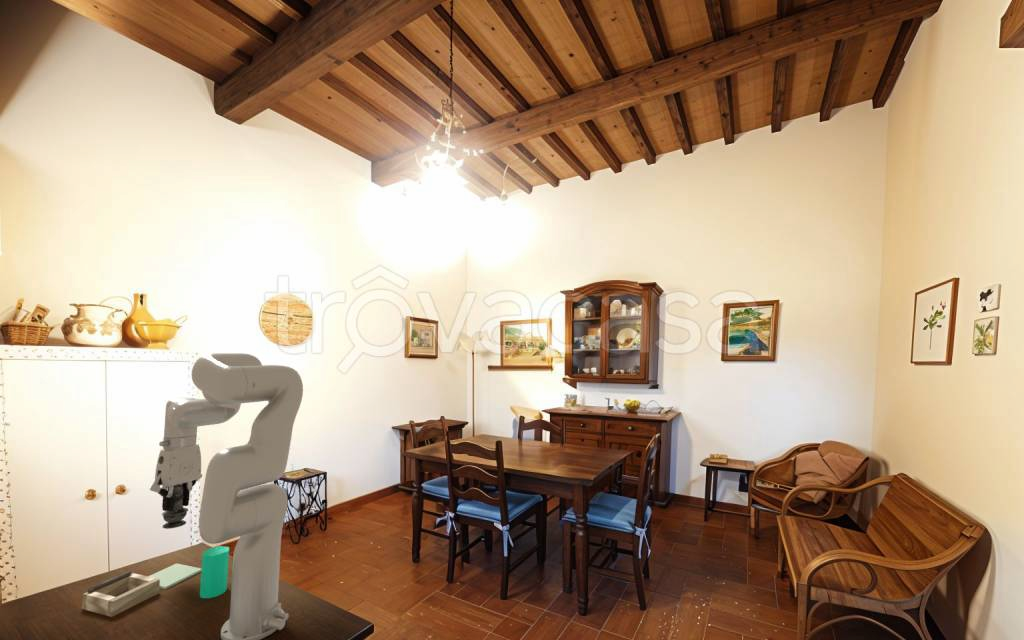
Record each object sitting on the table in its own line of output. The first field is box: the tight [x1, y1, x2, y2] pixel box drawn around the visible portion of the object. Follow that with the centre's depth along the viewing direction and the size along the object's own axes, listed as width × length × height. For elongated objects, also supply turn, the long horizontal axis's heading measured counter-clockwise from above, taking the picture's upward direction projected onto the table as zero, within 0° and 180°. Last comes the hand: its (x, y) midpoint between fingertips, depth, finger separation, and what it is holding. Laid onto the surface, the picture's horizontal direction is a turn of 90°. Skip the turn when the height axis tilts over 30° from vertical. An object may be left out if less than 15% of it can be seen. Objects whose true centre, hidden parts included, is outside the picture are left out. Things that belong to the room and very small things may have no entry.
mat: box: [147, 563, 202, 590], centre depth 120 cm, size 10×10×1 cm
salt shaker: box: [161, 484, 189, 530], centre depth 121 cm, size 6×6×12 cm
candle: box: [199, 544, 230, 599], centre depth 113 cm, size 6×6×12 cm
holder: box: [81, 570, 160, 618], centre depth 108 cm, size 10×10×4 cm
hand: (175, 507), depth 121 cm, fingers closed on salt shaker, 3 cm apart
